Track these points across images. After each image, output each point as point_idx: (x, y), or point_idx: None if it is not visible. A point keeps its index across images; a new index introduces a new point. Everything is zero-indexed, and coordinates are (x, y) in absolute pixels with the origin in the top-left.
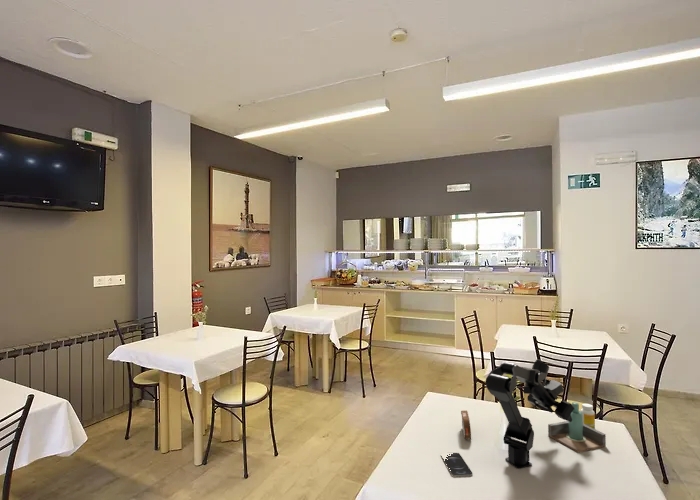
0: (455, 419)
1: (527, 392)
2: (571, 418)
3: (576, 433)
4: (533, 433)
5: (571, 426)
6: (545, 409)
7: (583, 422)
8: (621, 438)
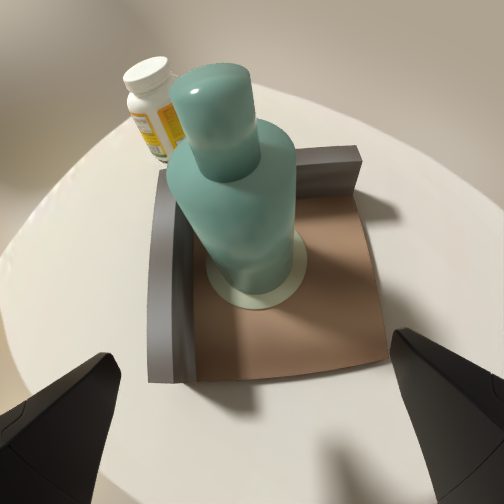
0: None
1: None
2: (430, 345)
3: (286, 265)
4: None
5: (256, 268)
6: (95, 462)
7: (168, 142)
8: (286, 102)
